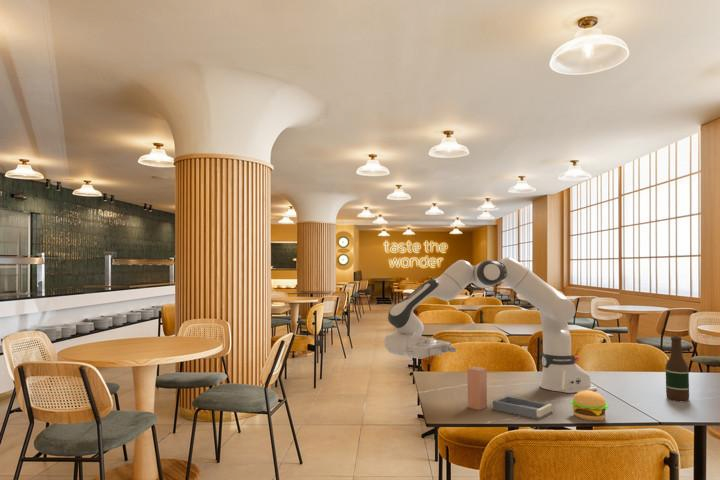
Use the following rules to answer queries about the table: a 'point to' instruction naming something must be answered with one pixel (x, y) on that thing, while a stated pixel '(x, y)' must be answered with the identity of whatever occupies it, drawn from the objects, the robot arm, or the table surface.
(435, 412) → the table surface
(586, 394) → the hamburger
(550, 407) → the slot board
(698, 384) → the table surface
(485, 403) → the post
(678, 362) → the beer bottle
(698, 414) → the table surface
